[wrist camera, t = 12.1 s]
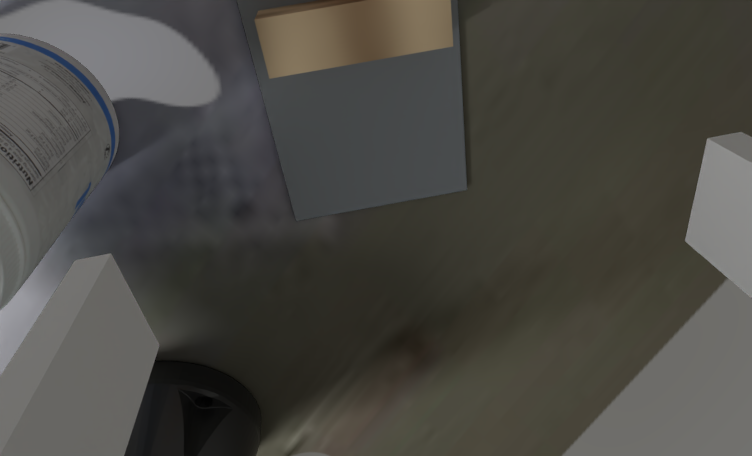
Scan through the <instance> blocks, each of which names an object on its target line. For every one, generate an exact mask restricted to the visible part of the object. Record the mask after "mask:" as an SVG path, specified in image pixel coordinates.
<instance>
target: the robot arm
mask: <svg viewBox="0 0 752 456" xmlns="http://www.w3.org/2000/svg"><path fill="white" fill-rule="evenodd" d="M685 242H687V243H688V244H689V245H690V246H691V247H692V248H694V249H695V250H696V251H697V252H698V253H699V254H701V255H702V256H703V257H704V258H705V259H706V260H708V261H709V262H710V263H711V264H712V265H713V266H715V267H716V268H717V269H718V270H719V271H720V272H722V273H723V274H724V275H725V276H726V277H727V278H729V279H730V280H731V281H732V282H733V283H735V284H736V285H737V286H738V287H739V288H740V289H741V290H743V291H744V292H745V293H746V294H747V295H749V296H750V297H751V298H752V137H750V136H748V135H746V134H744V133H742V132H738V133H732V134H727V135H722V136H717V137H712V138H707V143H706V147H705V152H704V156H703V161H702V165H701V170H700V175H699V179H698V184H697V188H696V193H695V197H694V202H693V207H692V211H691V216H690V220H689V225H688V229H687V234H686V239H685ZM159 346H160V345H159V343H158V341H157V339H156V337H155V335H154V334H153V332H152V330H151V328H150V326H149V324H148V322H147V320H146V318H145V317H144V315H143V313H142V311H141V309H140V307H139V305H138V303H137V301H136V299H135V298H134V296H133V294H132V292H131V290H130V288H129V286H128V284H127V282H126V280H125V279H124V277H123V275H122V273H121V271H120V269H119V267H118V265H117V263H116V262H115V260H114V258H113V256H112V254H111V253H110V254H105V255H99V256H94V257H89V258H84V259H79V260H75V261H74V263H73V264H72V266H71V267H70V269H69V270H68V272H67V274H66V275H65V277H64V278H63V280H62V281H61V283H60V284H59V286H58V288H57V289H56V291H55V292H54V294H53V295H52V297H51V298H50V300H49V302H48V303H47V305H46V306H45V308H44V309H43V311H42V312H41V314H40V316H39V317H38V319H37V320H36V322H35V323H34V325H33V326H32V328H31V330H30V331H29V333H28V334H27V336H26V337H25V339H24V340H23V342H22V344H21V345H20V347H19V348H18V350H17V351H16V353H15V354H14V356H13V358H12V359H11V361H10V362H9V364H8V365H7V367H6V369H5V370H4V372H3V373H2V375H1V376H0V456H256V454H257V451H258V447H259V442H260V431H261V413H260V410H259V407H258V405H257V402H256V401H255V399H254V398H253V396H252V395H251V394H250V393H249V392H248V390H247V389H245V388H244V387H243V386H242V385H241V384H240V383H238V382H237V381H235V380H234V379H232V378H231V377H229V376H227V375H225V374H223V373H221V372H218V371H216V370H213V369H210V368H207V367H204V366H200V365H196V364H191V363H184V362H172V361H158V362H154V361H155V358H156V355H157V352H158V349H159Z"/></svg>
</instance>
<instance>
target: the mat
mask: <svg viewBox="0 0 752 456" xmlns="http://www.w3.org/2000/svg"><path fill="white" fill-rule="evenodd" d="M312 1H317V0H237V4H238V8H239V11H240V15H241V19H242V22H243V26H244V30H245V34H246V37H247V41H248V45H249V49H250V52H251V56H252V60H253V63H254V67H255V71H256V75H257V78H258V82H259V86H260V89H261V93H262V97H263V101H264V104H265V108H266V112H267V115H268V119H269V123H270V127H271V130H272V134H273V138H274V141H275V145H276V149H277V153H278V156H279V160H280V164H281V167H282V171H283V175H284V179H285V182H286V186H287V190H288V193H289V197H290V201H291V205H292V208H293V212H294V216H295V219H296V221H300V220H305V219H311V218H316V217H322V216H327V215H333V214H338V213H344V212H349V211H355V210H360V209H366V208H371V207H377V206H382V205H388V204H393V203H399V202H404V201H410V200H415V199H421V198H426V197H432V196H437V195H442V194H448V193H453V192H459V191H464V190H467V178H466V158H465V138H464V118H463V98H462V77H461V57H460V37H459V17H458V0H451V15H452V32H453V47H447V48H442V49H436V50H430V51H424V52H419V53H413V54H407V55H402V56H396V57H390V58H385V59H379V60H373V61H368V62H362V63H356V64H351V65H345V66H339V67H334V68H328V69H322V70H317V71H311V72H305V73H300V74H294V75H288V76H283V77H277V78H271V79H269V75H268V71H267V67H266V63H265V59H264V55H263V52H262V48H261V44H260V40H259V36H258V32H257V28H256V24H255V20H254V19H255V17H256V15H257V13H258V11H260V10H265V9H271V8H277V7H283V6H288V5H294V4H300V3H306V2H312Z"/></svg>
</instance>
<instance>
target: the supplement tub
mask: <svg viewBox="0 0 752 456" xmlns="http://www.w3.org/2000/svg"><path fill="white" fill-rule="evenodd" d="M118 143H119V125H118V120H117V116H116V112H115V109H114V107H113V104H112V102H111V100H110V98H109V96H108V95H107V93H106V91H105V90H104V88H103V87H102V85H101V84H100V83H99V81H98V80H97V79H96V78H95V77H94V76H93V75H92V73H91V72H90V71H89V70H88V69H87V68H85V67H84V66H83V65H82V64H81V63H79V62H78V61H77V60H76V59H74V58H73V57H72V56H70V55H69V54H67V53H65V52H64V51H62V50H60V49H58V48H56V47H54V46H52V45H50V44H48V43H45V42H42V41H40V40H36V39H34V38H30V37H26V36H21V35H15V34H0V310H1V309H2V308H4V307H5V306H6V305H7V304H8V302H9V301H10V300H11V299H12V298H13V296H14V295H15V294H16V293H17V291H18V290H19V289H20V288H21V286H22V285H23V284H24V282H25V281H26V280H27V278H28V277H29V276H30V275H31V273H32V272H33V270H34V269H35V268H36V266H37V265H38V264H39V262H40V261H41V259H42V258H43V257H44V255H45V254H46V253H47V251H48V250H49V249H50V247H51V246H52V245H53V243H54V242H55V240H56V239H57V238H58V236H59V235H60V234H61V232H62V231H63V230H64V228H65V227H66V226H67V224H68V223H69V222H70V220H71V219H72V218H73V216H74V215H75V214H76V212H77V211H78V210H79V208H80V207H81V206H82V204H83V203H84V202H85V200H86V199H87V198H88V196H89V195H90V194H91V192H92V191H93V190H94V188H95V187H96V186H97V185H98V183H99V182H100V180H101V179H102V178H103V176H104V175H105V173H106V172H107V171H108V169H109V168H110V166H111V164H112V162H113V160H114V158H115V155H116V152H117V149H118Z"/></svg>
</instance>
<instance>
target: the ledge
mask: <svg viewBox="0 0 752 456" xmlns="http://www.w3.org/2000/svg"><path fill="white" fill-rule="evenodd" d="M254 20H255V24H256V28H257V32H258V36H259V40H260V44H261V48H262V52H263V55H264V59H265V63H266V67H267V71H268V75H269V79H271V78H277V77H283V76H288V75H294V74H300V73H305V72H311V71H317V70H322V69H328V68H334V67H339V66H345V65H351V64H356V63H362V62H368V61H373V60H379V59H385V58H390V57H396V56H402V55H407V54H413V53H419V52H424V51H430V50H436V49H442V48H447V47H453V32H452V15H451V0H317V1H312V2H306V3H300V4H294V5H288V6H283V7H277V8H271V9H265V10H260V11H258V13H257V15H256V17H255V19H254Z"/></svg>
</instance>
